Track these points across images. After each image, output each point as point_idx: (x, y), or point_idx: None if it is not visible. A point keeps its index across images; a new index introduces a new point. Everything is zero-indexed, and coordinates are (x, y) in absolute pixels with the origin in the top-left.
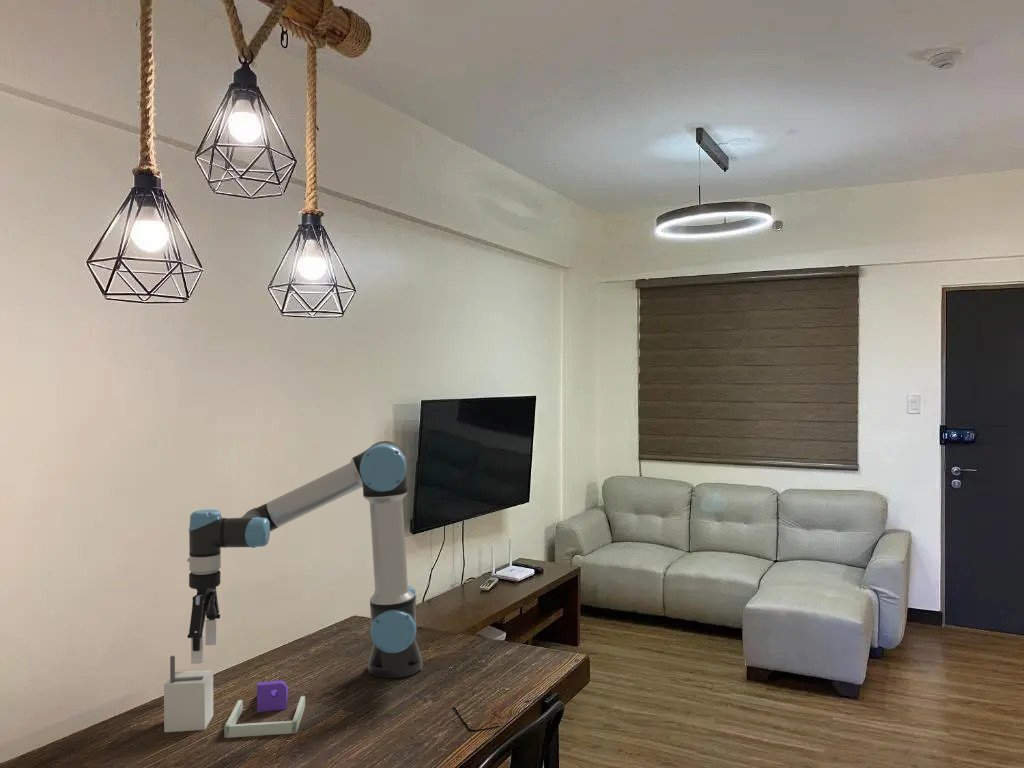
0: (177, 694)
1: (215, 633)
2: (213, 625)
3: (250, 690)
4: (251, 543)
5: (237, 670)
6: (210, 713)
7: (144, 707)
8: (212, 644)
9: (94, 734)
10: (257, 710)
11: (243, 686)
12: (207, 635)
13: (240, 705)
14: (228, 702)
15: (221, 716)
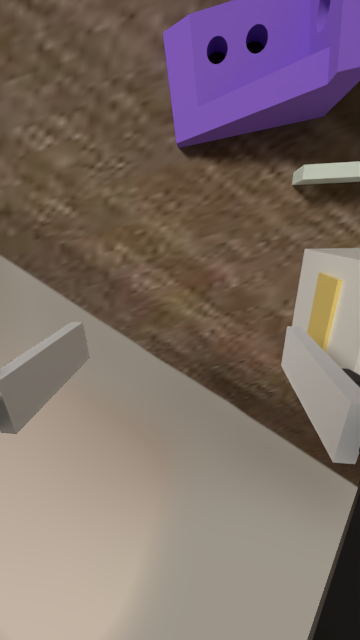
0: None
1: (54, 345)
2: (26, 376)
3: (156, 187)
4: None
5: (29, 259)
6: (344, 249)
7: (220, 395)
8: (84, 335)
9: None
10: (325, 113)
11: (128, 216)
12: (67, 372)
13: (338, 163)
14: (229, 230)
15: (319, 225)
